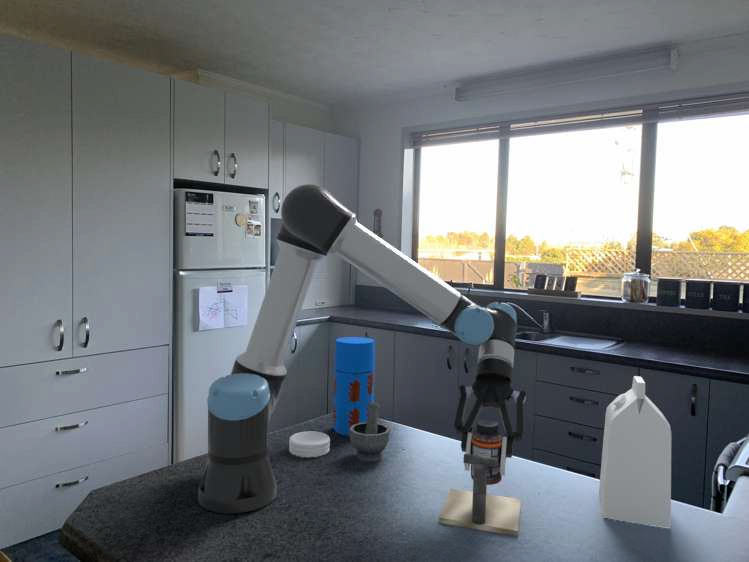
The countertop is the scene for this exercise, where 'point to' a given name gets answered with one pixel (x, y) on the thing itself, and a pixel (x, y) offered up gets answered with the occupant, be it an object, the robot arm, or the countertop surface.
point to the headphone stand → (481, 503)
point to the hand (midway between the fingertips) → (484, 469)
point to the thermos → (353, 382)
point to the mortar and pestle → (370, 436)
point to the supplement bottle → (488, 447)
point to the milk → (636, 460)
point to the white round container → (309, 444)
